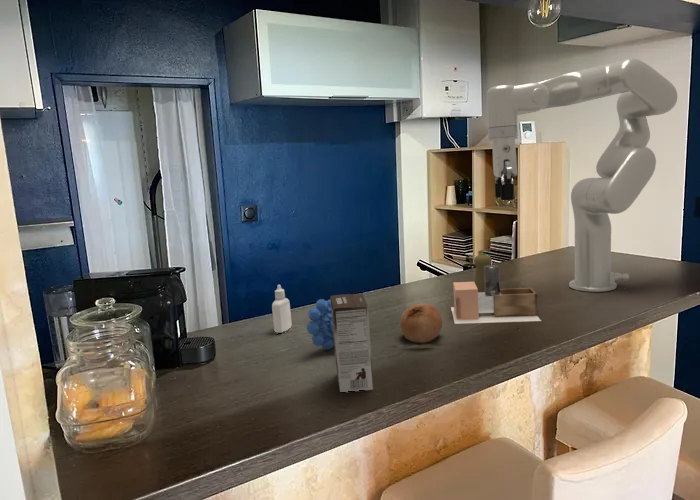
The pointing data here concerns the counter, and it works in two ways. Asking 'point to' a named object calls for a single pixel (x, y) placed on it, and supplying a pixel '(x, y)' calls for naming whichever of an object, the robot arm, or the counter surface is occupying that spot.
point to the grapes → (321, 324)
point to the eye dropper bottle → (281, 311)
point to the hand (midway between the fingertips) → (504, 198)
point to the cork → (481, 271)
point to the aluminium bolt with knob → (489, 289)
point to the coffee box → (352, 342)
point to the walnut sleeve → (515, 302)
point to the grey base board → (494, 318)
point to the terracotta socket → (465, 300)
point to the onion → (421, 323)
